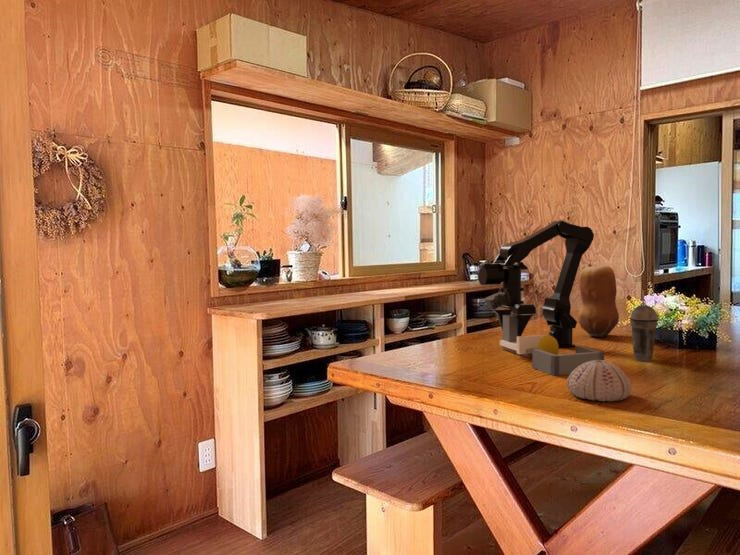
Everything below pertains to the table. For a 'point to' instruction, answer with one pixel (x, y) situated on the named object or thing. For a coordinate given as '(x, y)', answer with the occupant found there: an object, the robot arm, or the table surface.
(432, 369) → the table surface
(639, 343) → the beverage cup
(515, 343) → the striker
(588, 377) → the sea urchin shell
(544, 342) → the lemon
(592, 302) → the butternut squash
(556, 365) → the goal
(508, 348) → the rail
